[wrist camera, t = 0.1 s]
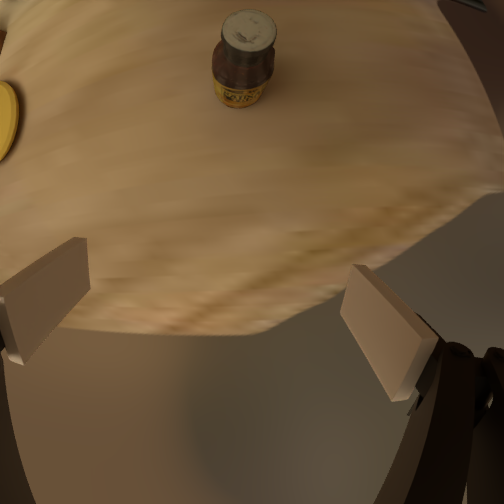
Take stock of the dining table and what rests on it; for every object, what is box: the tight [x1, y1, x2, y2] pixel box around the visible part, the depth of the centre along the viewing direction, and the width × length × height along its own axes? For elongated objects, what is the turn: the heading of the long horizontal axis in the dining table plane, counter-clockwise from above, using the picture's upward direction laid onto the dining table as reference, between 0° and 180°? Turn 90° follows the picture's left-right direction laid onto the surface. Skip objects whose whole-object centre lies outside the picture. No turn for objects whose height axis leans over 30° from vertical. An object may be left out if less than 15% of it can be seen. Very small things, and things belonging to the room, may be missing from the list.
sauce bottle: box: [212, 9, 277, 108], centre depth 26 cm, size 6×6×20 cm
